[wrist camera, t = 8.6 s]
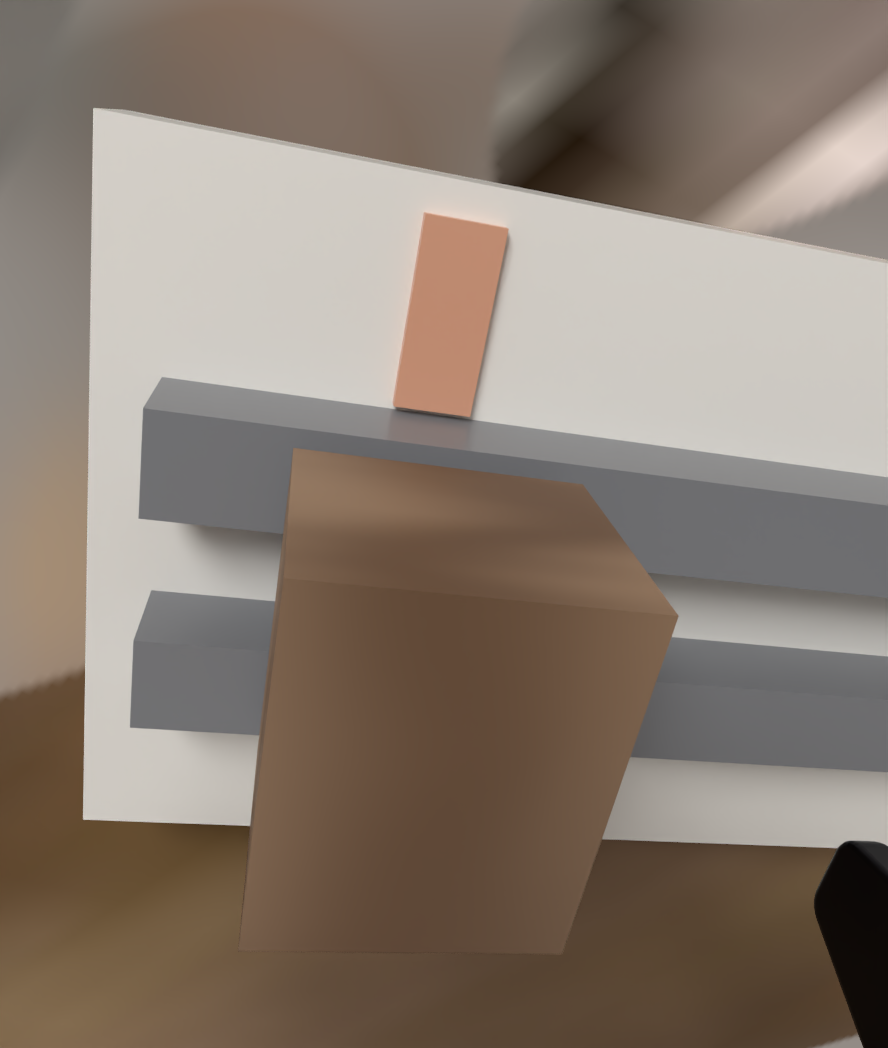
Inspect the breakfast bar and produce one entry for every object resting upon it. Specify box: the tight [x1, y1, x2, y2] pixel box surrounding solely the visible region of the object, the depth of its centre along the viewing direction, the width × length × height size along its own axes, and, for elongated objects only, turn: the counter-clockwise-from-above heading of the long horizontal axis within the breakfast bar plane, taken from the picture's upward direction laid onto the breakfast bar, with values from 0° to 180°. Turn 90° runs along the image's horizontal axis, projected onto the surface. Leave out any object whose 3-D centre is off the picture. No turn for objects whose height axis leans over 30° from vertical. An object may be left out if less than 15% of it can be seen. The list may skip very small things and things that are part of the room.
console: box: [83, 108, 888, 848], centre depth 16 cm, size 24×12×4 cm, turn 80°
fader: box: [238, 448, 679, 954], centre depth 12 cm, size 4×5×5 cm
